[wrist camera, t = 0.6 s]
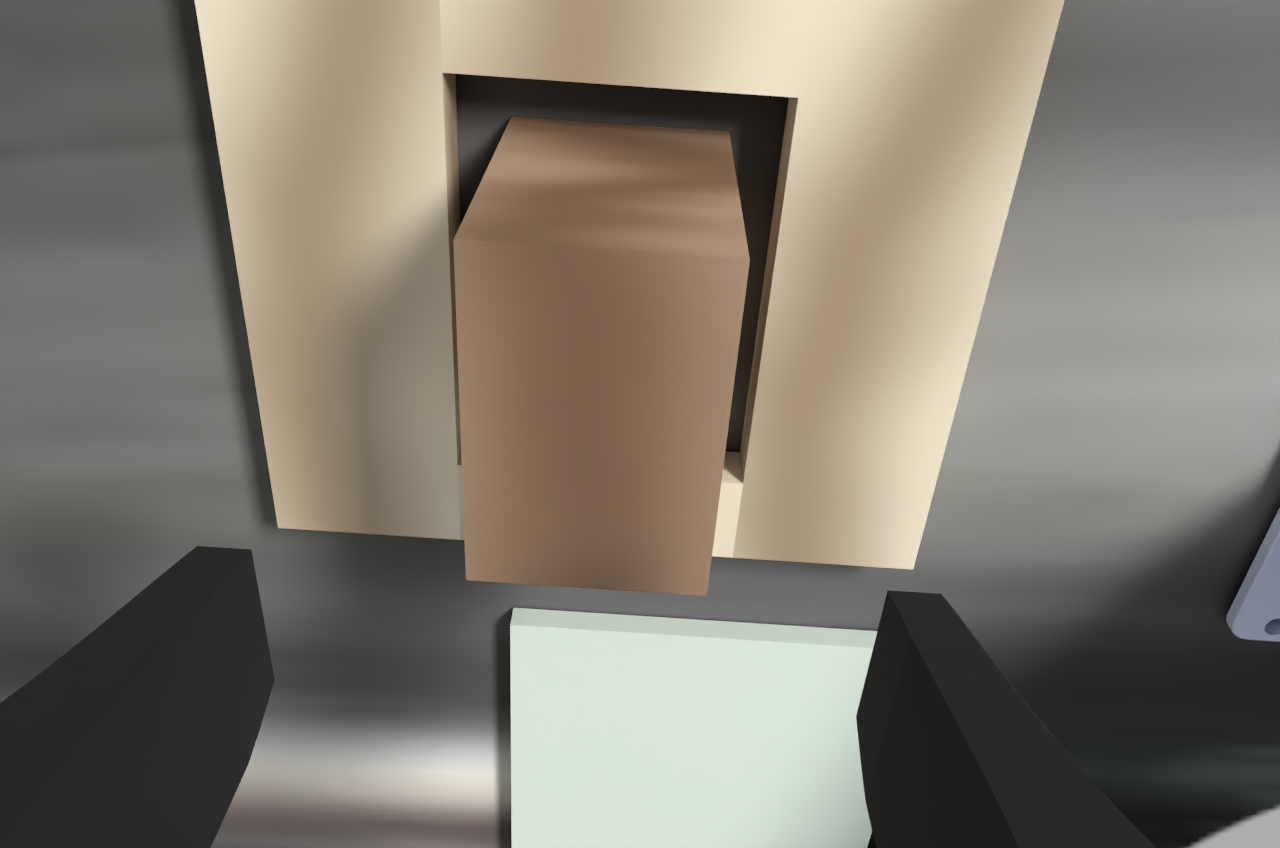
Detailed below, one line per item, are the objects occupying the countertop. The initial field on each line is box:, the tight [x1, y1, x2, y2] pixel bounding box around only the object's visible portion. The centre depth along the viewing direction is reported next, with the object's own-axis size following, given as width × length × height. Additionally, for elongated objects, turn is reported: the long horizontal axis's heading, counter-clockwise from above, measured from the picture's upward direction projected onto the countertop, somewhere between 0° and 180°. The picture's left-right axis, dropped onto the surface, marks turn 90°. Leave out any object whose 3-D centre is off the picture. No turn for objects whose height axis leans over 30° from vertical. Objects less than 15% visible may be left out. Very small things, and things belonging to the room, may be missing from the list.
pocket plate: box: [195, 0, 1064, 569], centre depth 20 cm, size 14×12×1 cm
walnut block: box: [453, 116, 750, 596], centre depth 18 cm, size 4×6×6 cm, turn 176°
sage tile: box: [510, 608, 877, 848], centre depth 28 cm, size 10×10×1 cm
